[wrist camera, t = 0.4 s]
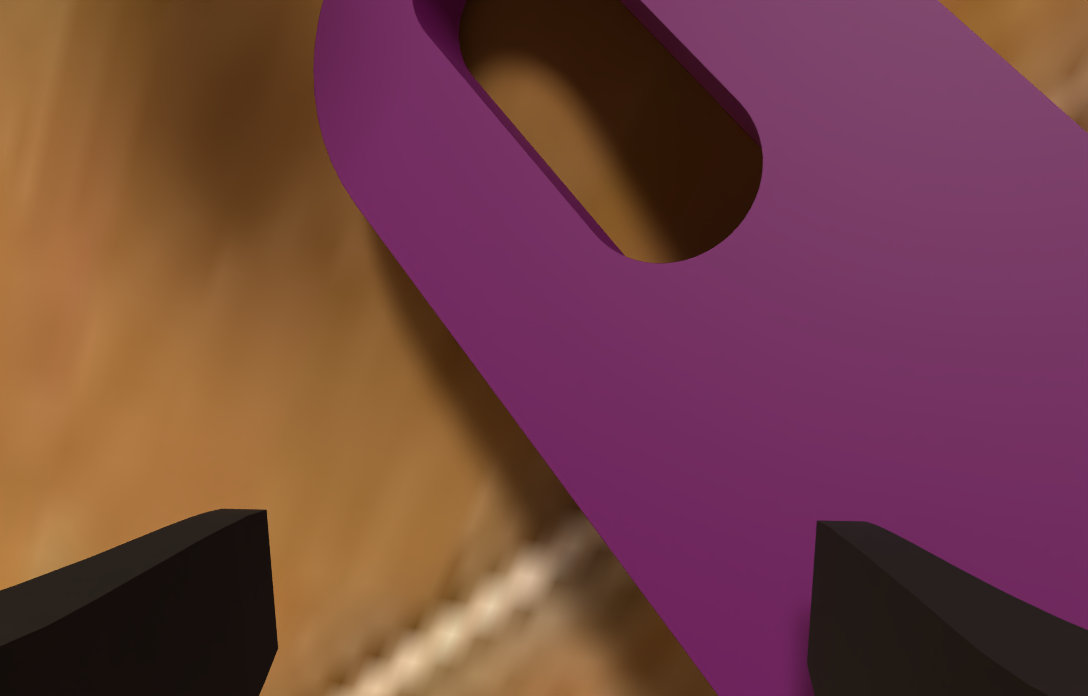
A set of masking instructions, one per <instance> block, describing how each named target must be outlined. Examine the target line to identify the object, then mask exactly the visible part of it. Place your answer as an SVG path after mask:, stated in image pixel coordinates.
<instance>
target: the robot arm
mask: <svg viewBox="0 0 1088 696" xmlns="http://www.w3.org/2000/svg"><path fill="white" fill-rule="evenodd" d="M277 650H278V642H277V630H276V618H275V606H274V594H273V582H272V570H271V558H270V546H269V534H268V522H267V510H253V509H219V510H214V511H210V512H206V513H203V514H199V515H196V516H193V517H190V518H188V519H185V520H182V521H179V522H177V523H174V524H172V525H169V526H166V527H164V528H161V529H159V530H156V531H154V532H151V533H149V534H146V535H144V536H142V537H139V538H137V539H134V540H132V541H129V542H127V543H124V544H122V545H119V546H117V547H115V548H112V549H110V550H107V551H105V552H102V553H100V554H97V555H95V556H92V557H90V558H87V559H85V560H82V561H79V562H77V563H74V564H71V565H69V566H66V567H63V568H61V569H58V570H55V571H53V572H50V573H47V574H45V575H42V576H39V577H37V578H34V579H31V580H29V581H26V582H23V583H21V584H18V585H15V586H12V587H9V588H7V589H4V590H1V591H0V696H259V694H260V692H261V690H262V687H263V685H264V683H265V680H266V678H267V675H268V673H269V670H270V667H271V665H272V662H273V660H274V657H275V655H276V652H277ZM807 666H808V670H809V674H810V678H811V682H812V686H813V691H814V695H815V696H1088V630H1086V629H1084V628H1082V627H1079V626H1077V625H1075V624H1072V623H1070V622H1068V621H1065V620H1063V619H1061V618H1058V617H1056V616H1054V615H1052V614H1050V613H1048V612H1046V611H1043V610H1041V609H1039V608H1037V607H1035V606H1033V605H1031V604H1029V603H1027V602H1024V601H1022V600H1020V599H1018V598H1016V597H1014V596H1012V595H1010V594H1008V593H1006V592H1004V591H1002V590H1000V589H998V588H996V587H994V586H992V585H990V584H988V583H986V582H984V581H982V580H980V579H978V578H976V577H975V576H973V575H971V574H969V573H967V572H965V571H963V570H961V569H960V568H958V567H956V566H954V565H952V564H950V563H948V562H947V561H945V560H943V559H941V558H939V557H937V556H936V555H934V554H932V553H930V552H928V551H926V550H925V549H923V548H921V547H919V546H917V545H915V544H914V543H912V542H910V541H908V540H906V539H904V538H902V537H900V536H898V535H896V534H894V533H892V532H891V531H888V530H886V529H884V528H882V527H880V526H877V525H875V524H872V523H869V522H866V521H823V520H817V525H816V539H815V554H814V568H813V583H812V597H811V612H810V626H809V640H808V655H807Z"/></svg>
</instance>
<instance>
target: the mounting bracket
mask: <svg viewBox="0 0 1088 696" xmlns="http://www.w3.org/2000/svg"><path fill="white" fill-rule="evenodd" d="M466 1H467V0H323V4H322V8H321V12H320V16H319V21H318V28H317V34H316V41H315V53H314V93H315V100H316V108H317V115H318V120H319V124H320V128H321V132H322V136H323V140H324V143H325V146H326V149H327V151H328V154H329V157H330V160H331V162H332V164H333V166H334V168H335V170H336V172H337V175H338V177H339V179H340V181H341V183H342V184H343V186H344V187H345V189H346V191H347V192H348V194H349V195H350V197H351V198H352V200H353V201H354V203H355V204H356V206H357V207H358V208H359V210H360V211H361V212H362V214H363V215H364V216H365V218H366V219H367V221H368V222H369V223H370V225H371V226H372V227H373V229H374V230H375V231H376V233H377V234H378V235H379V237H380V238H381V239H382V241H383V242H384V244H385V245H386V246H387V248H388V249H389V250H390V252H391V253H392V254H393V256H394V257H395V258H396V260H397V261H398V262H399V264H400V265H401V267H402V268H403V269H404V271H405V272H406V273H407V275H408V276H409V277H410V279H411V280H412V281H413V283H414V284H415V286H416V287H417V288H418V290H419V291H420V292H421V294H422V295H423V296H424V298H425V299H426V300H427V302H428V303H429V304H430V306H431V307H432V309H433V310H434V311H435V313H436V314H437V315H438V317H439V318H440V319H441V321H442V322H443V323H444V325H445V326H446V328H447V329H448V330H449V332H450V333H451V334H452V336H453V337H454V338H455V340H456V341H457V342H458V344H459V345H460V346H461V348H462V349H463V351H464V352H465V353H466V355H467V356H468V357H469V359H470V360H471V361H472V363H473V364H474V365H475V367H476V368H477V369H478V371H479V372H480V374H481V375H482V376H483V378H484V379H485V380H486V382H487V383H488V384H489V386H490V387H491V388H492V390H493V391H494V393H495V394H496V395H497V397H498V398H499V399H500V401H501V402H502V403H503V405H504V406H505V407H506V409H507V410H508V411H509V413H510V414H511V416H512V417H513V418H514V420H515V421H516V422H517V424H518V425H519V426H520V428H521V429H522V430H523V432H524V433H525V435H526V436H527V437H528V439H529V440H530V441H531V443H532V444H533V445H534V447H535V448H536V449H537V451H538V452H539V453H540V455H541V456H542V458H543V459H544V460H545V462H546V463H547V464H548V466H549V467H550V468H551V470H552V471H553V472H554V474H555V475H556V476H557V478H558V479H559V481H560V482H561V483H562V485H563V486H564V487H565V489H566V490H567V491H568V493H569V494H570V495H571V497H572V498H573V500H574V501H575V502H576V504H577V505H578V506H579V508H580V509H581V510H582V512H583V513H584V514H585V516H586V517H587V518H588V520H589V521H590V523H591V524H592V525H593V527H594V528H595V529H596V531H597V532H598V533H599V535H600V536H601V537H602V539H603V540H604V541H605V543H606V544H607V546H608V547H609V548H610V550H611V551H612V552H613V554H614V555H615V556H616V558H617V559H618V560H619V562H620V563H621V565H622V566H623V567H624V569H625V570H626V571H627V573H628V574H629V575H630V577H631V578H632V579H633V581H634V582H635V583H636V585H637V586H638V588H639V589H640V590H641V592H642V593H643V594H644V596H645V597H646V598H647V600H648V601H649V602H650V604H651V605H652V607H653V608H654V609H655V611H656V612H657V613H658V615H659V616H660V617H661V619H662V620H663V621H664V623H665V624H666V625H667V627H668V628H669V630H670V631H671V632H672V634H673V635H674V636H675V638H676V639H677V640H678V642H679V643H680V644H681V646H682V647H683V648H684V650H685V651H686V653H687V654H688V655H689V657H690V658H691V659H692V661H693V662H694V663H695V665H696V666H697V667H698V669H699V670H700V672H701V673H702V674H703V676H704V677H705V678H706V680H707V681H708V682H709V684H710V685H711V686H712V688H713V689H714V690H715V692H716V693H717V695H718V696H815V695H814V691H813V686H812V682H811V678H810V674H809V670H808V666H807V655H808V640H809V626H810V612H811V597H812V583H813V568H814V554H815V539H816V525H817V520H823V521H866V522H869V523H872V524H875V525H877V526H880V527H882V528H884V529H886V530H888V531H891V532H892V533H894V534H896V535H898V536H900V537H902V538H904V539H906V540H908V541H910V542H912V543H914V544H915V545H917V546H919V547H921V548H923V549H925V550H926V551H928V552H930V553H932V554H934V555H936V556H937V557H939V558H941V559H943V560H945V561H947V562H948V563H950V564H952V565H954V566H956V567H958V568H960V569H961V570H963V571H965V572H967V573H969V574H971V575H973V576H975V577H976V578H978V579H980V580H982V581H984V582H986V583H988V584H990V585H992V586H994V587H996V588H998V589H1000V590H1002V591H1004V592H1006V593H1008V594H1010V595H1012V596H1014V597H1016V598H1018V599H1020V600H1022V601H1024V602H1027V603H1029V604H1031V605H1033V606H1035V607H1037V608H1039V609H1041V610H1043V611H1046V612H1048V613H1050V614H1052V615H1054V616H1056V617H1058V618H1061V619H1063V620H1065V621H1068V622H1070V623H1072V624H1075V625H1077V626H1079V627H1082V628H1084V629H1086V630H1088V133H1087V132H1086V131H1084V130H1083V129H1082V128H1081V127H1080V126H1079V125H1078V124H1077V123H1075V122H1074V121H1073V120H1072V119H1071V118H1070V117H1069V116H1068V115H1066V114H1065V113H1064V112H1063V111H1062V110H1061V109H1060V108H1058V107H1057V106H1056V105H1055V104H1054V103H1053V102H1052V101H1051V100H1049V99H1048V98H1047V97H1046V96H1045V95H1044V94H1043V93H1042V92H1040V91H1039V90H1038V89H1037V88H1036V87H1035V86H1034V85H1033V84H1031V83H1030V82H1029V81H1028V80H1027V79H1026V78H1025V77H1024V76H1022V75H1021V74H1020V73H1019V72H1018V71H1017V70H1016V69H1014V68H1013V67H1012V66H1011V65H1010V64H1009V63H1008V62H1007V61H1005V60H1004V59H1003V58H1002V57H1001V56H1000V55H999V54H998V53H996V52H995V51H994V50H993V49H992V48H991V47H990V46H989V45H987V44H986V43H985V42H984V41H983V40H982V39H981V38H979V37H978V36H977V35H976V34H975V33H974V32H973V31H972V30H970V29H969V28H968V27H967V26H966V25H965V24H964V23H963V22H961V21H960V20H959V19H958V18H957V17H956V16H955V15H954V14H952V13H951V12H950V11H949V10H948V9H947V8H946V7H944V6H943V5H942V4H941V3H940V2H939V1H938V0H620V1H621V2H622V3H623V4H624V6H625V7H626V8H627V9H628V10H629V11H630V12H631V13H632V14H633V15H634V16H635V17H636V18H637V19H638V20H639V21H640V22H641V23H642V24H643V25H644V26H645V27H646V28H647V30H648V31H649V32H650V33H651V34H652V35H653V36H654V37H655V38H656V39H657V40H658V41H659V42H660V43H661V44H662V45H663V46H664V47H665V48H666V49H667V50H668V51H669V52H670V53H671V55H672V56H673V57H674V58H675V59H676V60H677V61H678V62H679V63H680V64H681V65H682V66H683V67H684V68H685V69H686V70H687V71H688V72H689V73H690V74H691V75H692V76H693V77H694V78H695V80H696V81H697V82H698V83H699V84H700V85H701V86H702V87H703V88H704V89H705V90H706V91H707V92H708V93H709V94H710V95H711V96H712V97H713V98H714V99H715V100H716V101H717V102H718V104H719V105H720V106H721V107H722V108H723V109H724V110H725V111H726V112H727V113H728V114H729V115H730V116H731V117H732V118H733V119H734V120H735V121H736V122H737V123H738V124H739V125H740V126H741V127H742V129H743V130H744V131H745V132H746V133H747V134H748V135H749V136H750V137H751V138H752V139H753V140H754V141H755V142H756V143H757V144H758V146H759V147H760V148H761V149H762V153H763V170H762V178H761V182H760V187H759V190H758V193H757V196H756V198H755V200H754V203H753V205H752V207H751V209H750V210H749V212H748V214H747V215H746V217H745V218H744V220H743V221H742V222H741V224H740V225H739V226H738V227H737V228H736V229H735V230H734V232H733V233H732V234H731V235H729V236H728V237H727V238H726V239H725V240H724V241H722V242H721V243H720V244H718V245H717V246H715V247H714V248H712V249H710V250H709V251H707V252H705V253H703V254H701V255H698V256H696V257H693V258H690V259H687V260H684V261H679V262H673V263H648V262H642V261H637V260H634V259H631V258H628V257H625V255H624V254H623V253H622V252H621V251H620V250H619V248H618V247H617V246H616V245H615V244H614V242H613V241H612V240H611V239H610V238H609V237H608V235H607V234H606V233H605V232H604V231H603V229H602V228H601V227H600V226H599V225H598V224H597V222H596V221H595V220H594V219H593V218H592V216H591V215H590V214H589V213H588V212H587V211H586V209H585V208H584V207H583V206H582V205H581V203H580V202H579V201H578V200H577V199H576V198H575V196H574V195H573V194H572V193H571V192H570V191H569V189H568V188H567V187H566V186H565V185H564V183H563V182H562V181H561V180H560V179H559V178H558V176H557V175H556V174H555V173H554V172H553V170H552V169H551V168H550V167H549V166H548V165H547V163H546V162H545V161H544V160H543V159H542V157H541V156H540V155H539V154H538V153H537V152H536V150H535V149H534V148H533V147H532V146H531V144H530V143H529V142H528V141H527V140H526V139H525V137H524V136H523V135H522V134H521V133H520V131H519V130H518V129H517V128H516V127H515V126H514V124H513V123H512V122H511V121H510V120H509V118H508V117H507V116H506V115H505V114H504V113H503V111H502V110H501V109H500V108H499V107H498V105H497V104H496V103H495V102H494V101H493V100H492V98H491V97H490V96H489V95H488V94H487V92H486V91H485V90H484V89H483V88H482V87H481V85H480V84H479V83H478V82H477V81H476V80H475V78H474V77H473V76H472V74H471V73H470V72H469V70H468V68H467V67H466V65H465V63H464V60H463V58H462V54H461V51H460V45H459V26H460V19H461V15H462V11H463V9H464V6H465V3H466Z"/></svg>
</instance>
